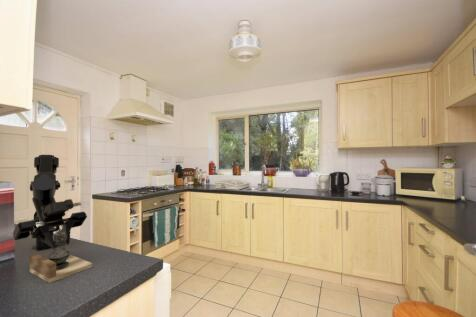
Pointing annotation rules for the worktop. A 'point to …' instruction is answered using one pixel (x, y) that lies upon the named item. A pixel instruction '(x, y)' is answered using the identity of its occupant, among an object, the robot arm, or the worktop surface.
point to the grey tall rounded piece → (59, 250)
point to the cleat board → (67, 269)
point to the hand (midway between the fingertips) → (61, 245)
